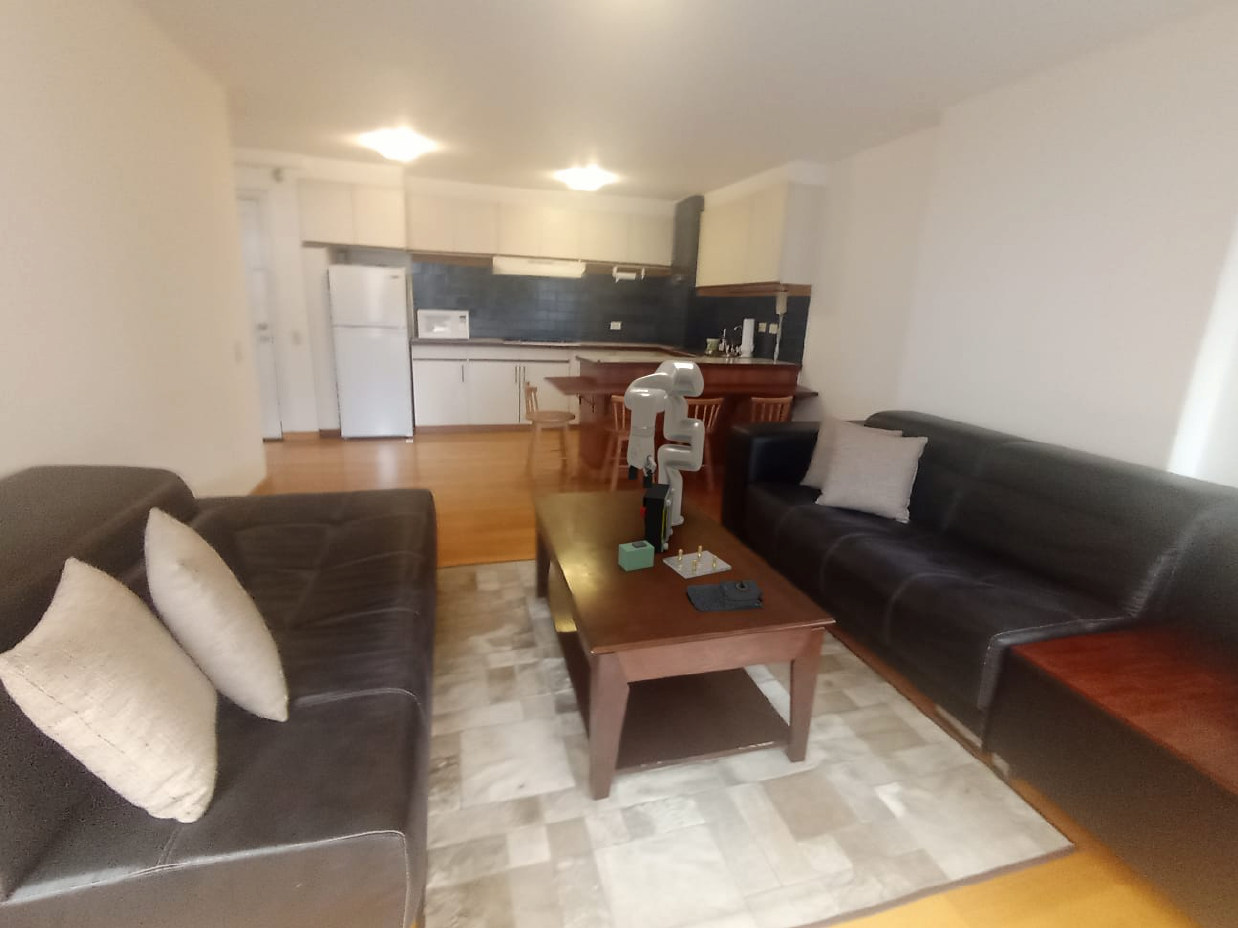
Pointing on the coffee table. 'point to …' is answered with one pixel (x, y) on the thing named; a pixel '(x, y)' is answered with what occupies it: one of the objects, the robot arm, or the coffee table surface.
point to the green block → (636, 555)
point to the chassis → (696, 563)
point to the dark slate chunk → (726, 596)
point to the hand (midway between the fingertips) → (639, 483)
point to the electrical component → (658, 515)
